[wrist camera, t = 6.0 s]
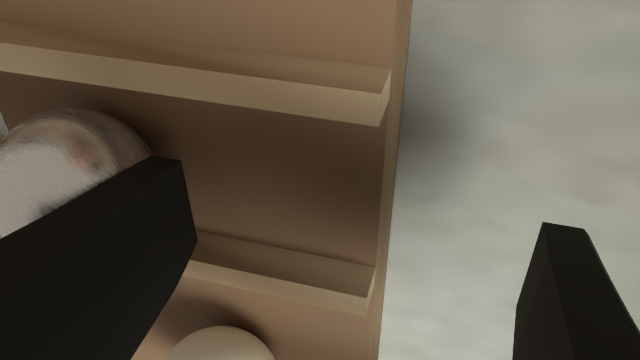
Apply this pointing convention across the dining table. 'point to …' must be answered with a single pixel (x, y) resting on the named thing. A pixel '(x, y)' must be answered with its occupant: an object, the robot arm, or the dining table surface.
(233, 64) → the hole plate
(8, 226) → the steel ball
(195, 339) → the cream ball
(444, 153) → the dining table surface
